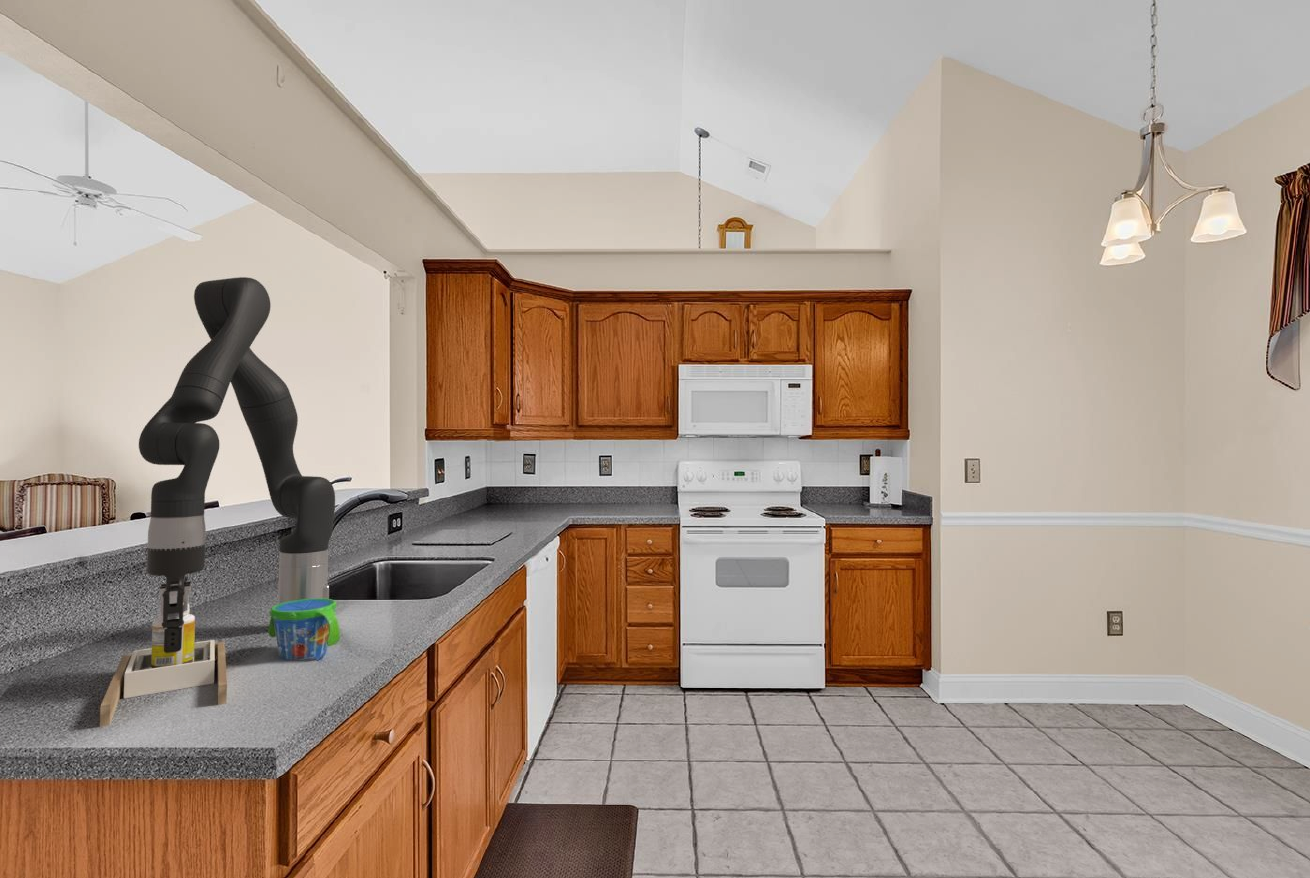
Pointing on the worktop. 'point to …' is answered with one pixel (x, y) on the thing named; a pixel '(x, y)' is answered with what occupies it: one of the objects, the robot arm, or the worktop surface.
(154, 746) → the worktop surface
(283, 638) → the snack cup
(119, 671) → the bay
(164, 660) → the supplement bottle
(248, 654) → the worktop surface
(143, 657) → the box
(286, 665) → the worktop surface
